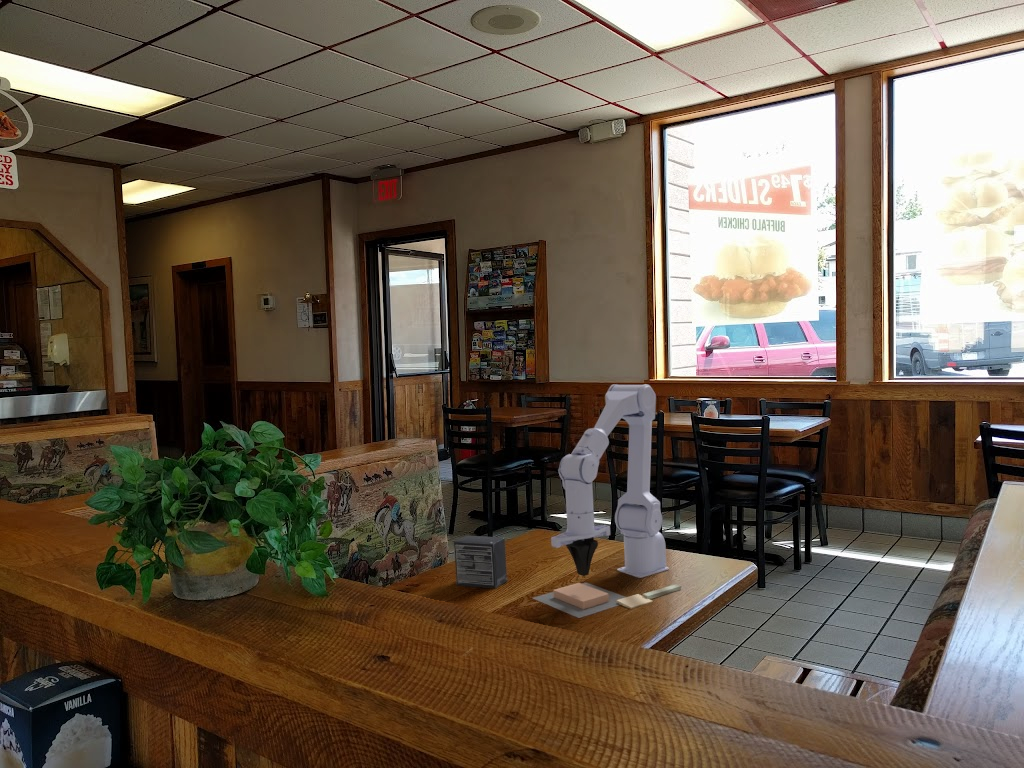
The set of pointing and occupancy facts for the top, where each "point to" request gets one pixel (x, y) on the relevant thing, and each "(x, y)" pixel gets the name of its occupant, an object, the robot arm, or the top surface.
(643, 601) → the turner
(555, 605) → the mat
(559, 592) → the block
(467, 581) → the small box
